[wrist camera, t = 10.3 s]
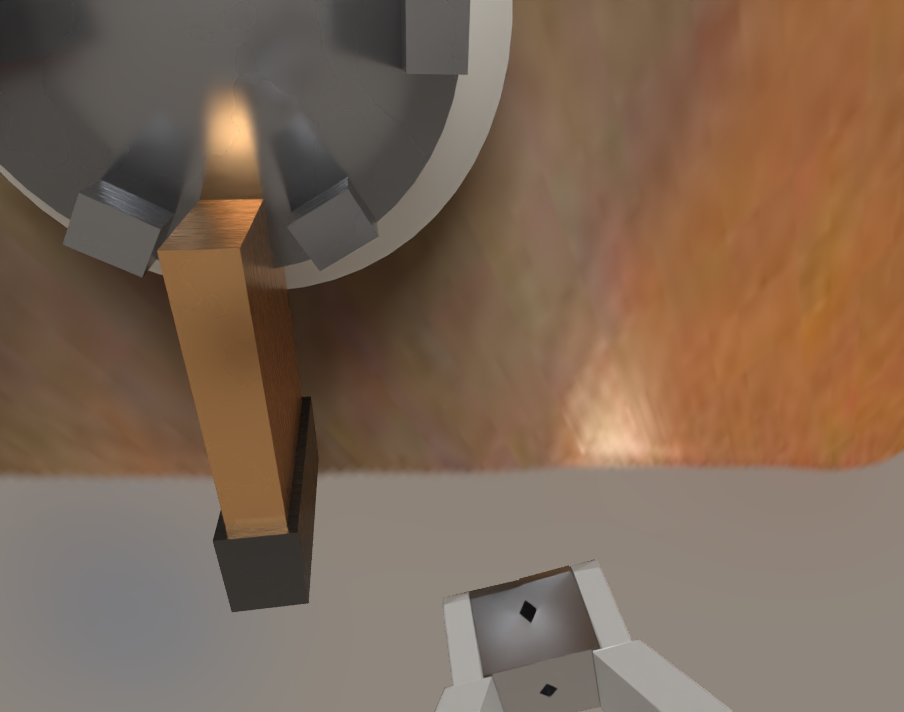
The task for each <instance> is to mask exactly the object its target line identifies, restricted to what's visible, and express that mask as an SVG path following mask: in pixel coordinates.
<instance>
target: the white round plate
mask: <svg viewBox="0 0 904 712" xmlns="http://www.w3.org/2000/svg"><path fill="white" fill-rule="evenodd" d="M511 31H512V0H470V25H469V53H468V75H458V80H457V85H456V90H455V95H454V99H453V102H452V105H451V108H450V111H449V114H448V117H447V120H446V124H445V127H444V130H443V132H442V134H441V136H440V138H439V140H438V142H437V145H436V147H435V149H434V151H433V153H432V155H431V157H430V159H429V161H428V162H427V164H426V165H425V167H424V168H423V170H422V172H421V173H420V175H419V176H418V178H417V179H416V181H415V182H414V184H413V185H412V186H411V188H410V189H409V190H408V191H407V192H406V193H405V195H404V196H403V197H402V198H401V199H400V201H399V202H398V203H397V204H396V205H395V206H394V207H393V208H392V209H391V210H390V211H389V212H388V213H387V214H386V215H384V216H383V217H382V218H381V219H380V220H379V221H378V222H377V227H378V234H379V237H377V238H375V239H374V240H372V241H370V242H369V243H367V244H365V245H364V246H362V247H360V248H359V249H357V250H355V251H354V252H352V253H350V254H349V255H347V256H345V257H343V258H342V259H340V260H338V261H337V262H335V263H333V264H332V265H330V266H328V267H327V268H325V269H323V270H322V271H319V270H318V268H317V267H316V265H315V264H314V263H313V261H312V260H311V259H310V260H307V261H304V262H301V263H297V264H293V265H288V266H284V268H285V275H286V283H287V289H293V288H302V287H307V286H311V285H315V284H319V283H323V282H327V281H331V280H335V279H338V278H340V277H343V276H345V275H348V274H351V273H353V272H356V271H358V270H361V269H363V268H365V267H367V266H369V265H371V264H372V263H374V262H376V261H378V260H380V259H382V258H384V257H385V256H387V255H389V254H390V253H392V252H393V251H395V250H396V249H397V248H399V247H400V246H402V245H403V244H404V243H406V242H407V241H409V240H410V239H411V238H413V237H414V236H415V235H416V234H417V233H418V232H419V231H420V230H421V229H422V228H424V227H425V226H426V225H427V224H428V223H429V222H430V221H431V220H432V219H433V218H434V217H435V216H436V215H437V214H438V213H439V212H440V210H441V209H442V208H443V207H444V206H445V204H446V203H447V202H448V201H449V200H450V198H451V197H452V196H453V195H454V194H455V192H456V191H457V189H458V188H459V186H460V185H461V183H462V182H463V180H464V179H465V177H466V175H467V174H468V172H469V171H470V169H471V168H472V166H473V165H474V162H475V160H476V158H477V156H478V154H479V152H480V150H481V148H482V146H483V144H484V142H485V140H486V138H487V135H488V133H489V130H490V128H491V125H492V122H493V119H494V116H495V113H496V110H497V107H498V104H499V101H500V98H501V93H502V89H503V84H504V79H505V75H506V70H507V66H508V60H509V50H510V41H511ZM0 172H1V173H2V174H3V175H4V176H5V177H6V178H7V179H8V180H9V181H10V182H11V183H12V184H13V185H14V186H15V187H17V188H18V189H19V190H20V191H21V192H22V193H23V194H24V195H26V196H27V197H28V198H29V199H30V200H31V201H32V202H34V203H35V204H36V205H37V206H38V207H39V208H40V209H42V210H43V211H44V212H46V213H47V214H49V215H50V216H51V217H53V218H54V219H55V220H57V221H58V222H60V223H61V224H62V225H64V226H65V227H67V228H68V226H69V222H70V220H69V219H68V218H66V217H64V216H63V215H61V214H60V213H58V212H56V211H55V210H54V209H53V208H51V207H50V206H49V205H47V204H46V203H45V202H43V201H42V200H41V199H39V198H38V197H37V196H35V195H34V194H33V193H31V192H30V191H29V190H27V189H26V188H25V187H24V186H23V185H22V184H21V183H20V182H19V181H18V180H16V179H15V178H14V177H13V176H12V175H11V174H10V173H9V172H8V171H7V170H6V169H5V168H3V167H2V166H1V165H0ZM148 271H151V272H154V273H157V274H160V275H163V273H162V269H161V265H160V261H159V260H156V261H155V262H154V263H153V265H152V266H151V267H150V268H149V270H148Z"/></svg>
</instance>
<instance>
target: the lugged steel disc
mask: <svg viewBox="0 0 904 712" xmlns="http://www.w3.org/2000/svg"><path fill="white" fill-rule="evenodd" d="M469 25H470V0H0V165H1V166H2V167H3V168H5V169H6V170H7V171H8V172H9V173H10V174H11V175H12V176H13V177H14V178H15V179H16V180H18V181H19V182H20V183H21V184H22V185H23V186H24V187H25V188H26V189H27V190H29V191H30V192H31V193H33V194H34V195H35V196H37V197H38V198H39V199H41V200H42V201H43V202H45V203H46V204H47V205H49V206H50V207H51V208H53V209H54V210H55V211H56V212H58V213H60V214H61V215H63V216H64V217H66V218H68V219H69V220H70V222H69V226H68V229H67V232H66V235H65V238H64V242H63V245H65V246H67V247H69V248H72V249H74V250H77V251H79V252H82V253H84V254H86V255H89V256H91V257H94V258H96V259H98V260H101V261H103V262H106V263H108V264H111V265H113V266H115V267H118V268H120V269H123V270H125V271H127V272H130V273H132V274H135V275H137V276H139V277H143V276H144V275H145V273H146V272H147V271H148V270H149V268H150V267H151V266H152V265H153V263H154V262H155V261H156V260H159V261H160V265H161V269H162V273H163V277H164V281H165V285H166V289H167V293H168V297H169V301H170V306H171V310H172V314H173V318H174V322H175V326H176V330H177V334H178V338H179V342H180V346H181V350H182V354H183V358H184V362H185V366H186V370H187V374H188V378H189V382H190V386H191V390H192V394H193V398H194V402H195V406H196V410H197V414H198V418H199V422H200V426H201V430H202V434H203V438H204V442H205V446H206V450H207V454H208V459H209V463H210V467H211V471H212V475H213V479H214V483H215V487H216V491H217V495H218V499H219V503H220V507H221V512H220V515H219V519H218V523H217V527H216V531H215V535H214V539H213V543H214V547H215V551H216V554H217V558H218V562H219V566H220V570H221V573H222V577H223V581H224V585H225V588H226V592H227V596H228V599H229V603H230V607H231V610H232V612H237V611H246V610H254V609H262V608H272V607H280V606H289V605H297V604H306V603H309V589H310V575H311V560H312V546H313V532H314V517H315V503H316V488H317V474H318V459H319V458H318V450H317V442H316V434H315V425H314V417H313V409H312V401H311V397H301V389H300V381H299V374H298V366H297V359H296V351H295V344H294V336H293V328H292V321H291V313H290V306H289V298H288V290H287V283H286V275H285V268H284V266H288V265H293V264H297V263H301V262H304V261H307V260H310V259H311V260H312V261H313V263H314V264H315V265H316V267H317V268H318V270H319V271H322V270H323V269H325V268H327V267H328V266H330V265H332V264H333V263H335V262H337V261H338V260H340V259H342V258H343V257H345V256H347V255H349V254H350V253H352V252H354V251H355V250H357V249H359V248H360V247H362V246H364V245H365V244H367V243H369V242H370V241H372V240H374V239H375V238H377V237H379V234H378V227H377V222H378V221H379V220H380V219H381V218H382V217H383V216H384V215H386V214H387V213H388V212H389V211H390V210H391V209H392V208H393V207H394V206H395V205H396V204H397V203H398V202H399V201H400V199H401V198H402V197H403V196H404V195H405V193H406V192H407V191H408V190H409V189H410V188H411V186H412V185H413V184H414V182H415V181H416V179H417V178H418V176H419V175H420V173H421V172H422V170H423V168H424V167H425V165H426V164H427V162H428V161H429V159H430V157H431V155H432V153H433V151H434V149H435V147H436V145H437V142H438V140H439V138H440V136H441V134H442V132H443V130H444V127H445V124H446V120H447V117H448V114H449V111H450V108H451V105H452V102H453V99H454V95H455V90H456V85H457V80H458V75H468V53H469Z"/></svg>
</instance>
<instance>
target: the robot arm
mask: <svg viewBox="0 0 904 712" xmlns="http://www.w3.org/2000/svg"><path fill="white" fill-rule="evenodd" d="M443 615H444V623H445V631H446V639H447V647H448V655H449V663H450V671H451V680H452V686H449V687H446V688H444V690H443V693H442V695H441V697H440V700H439V702H438V704H437V707H436V709H435V712H578V711H583V710H587V709H592V708H597V707H601V709H602V710H603V711H604V712H733V711H732V710H731V709H729V708H728V707H727V706H725V705H724V704H723V703H722V702H720V701H719V700H718V699H717V698H715V697H714V696H713V695H711V694H710V693H709V692H708V691H706V690H705V689H704V688H702V687H701V686H700V685H699V684H697V683H696V682H695V681H693V680H692V679H691V678H690V677H688V676H687V675H686V674H684V673H683V672H682V671H681V670H679V669H678V668H677V667H675V666H674V665H673V664H672V663H670V662H669V661H668V660H666V659H665V658H664V657H663V656H661V655H660V654H659V653H657V652H656V651H655V650H654V649H652V648H651V647H650V646H648V645H647V644H646V643H645V642H643V641H642V640H641V639H637V640H632V639H631V637H630V635H629V632H628V630H627V628H626V625H625V623H624V621H623V618H622V616H621V614H620V611H619V609H618V606H617V604H616V602H615V599H614V597H613V595H612V592H611V590H610V588H609V585H608V583H607V580H606V578H605V576H604V574H603V571H602V569H601V566H600V565H599V563H598V562H597V561H596V560H591V561H587V562H583V563H580V564H577V565H573V566H570V567H569V566H565V567H561V568H558V569H554V570H550V571H547V572H543V573H539V574H535V575H532V576H528V577H524V578H520V579H519V580H516V581H512V582H507V583H503V584H499V585H495V586H490V587H486V588H482V589H478V590H473V591H468V592H464V593H461V594H456V595H452V596H448V597H444V598H443Z"/></svg>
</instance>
